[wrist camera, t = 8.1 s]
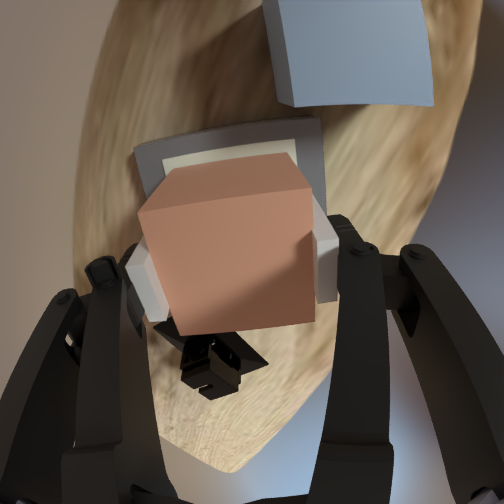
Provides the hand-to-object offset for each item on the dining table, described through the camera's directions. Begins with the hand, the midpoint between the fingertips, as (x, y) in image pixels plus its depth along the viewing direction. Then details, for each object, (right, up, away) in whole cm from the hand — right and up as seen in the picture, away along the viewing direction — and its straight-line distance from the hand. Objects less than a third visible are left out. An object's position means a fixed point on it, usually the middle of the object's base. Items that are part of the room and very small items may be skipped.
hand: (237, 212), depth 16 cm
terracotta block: (0, 0, 0) cm, 0 cm away
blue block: (+5, +9, -3) cm, 11 cm away
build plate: (-3, -10, +9) cm, 14 cm away
